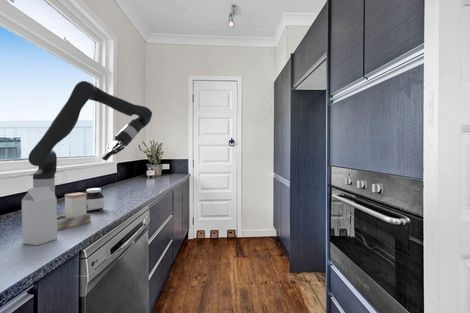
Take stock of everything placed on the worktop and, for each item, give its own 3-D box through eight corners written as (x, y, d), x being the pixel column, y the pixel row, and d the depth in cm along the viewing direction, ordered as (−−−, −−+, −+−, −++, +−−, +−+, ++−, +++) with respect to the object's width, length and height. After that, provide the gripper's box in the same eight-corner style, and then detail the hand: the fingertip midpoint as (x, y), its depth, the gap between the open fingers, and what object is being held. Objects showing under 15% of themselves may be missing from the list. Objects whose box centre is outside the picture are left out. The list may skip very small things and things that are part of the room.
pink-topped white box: (71, 221, 107) (71, 195, 107) (65, 219, 111) (64, 194, 110) (86, 218, 112) (86, 193, 112) (79, 216, 116) (79, 192, 115)
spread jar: (106, 210, 134) (106, 188, 134) (84, 215, 125) (84, 191, 125) (94, 207, 141) (94, 187, 141) (72, 212, 131) (72, 189, 131)
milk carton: (57, 239, 91) (56, 186, 90) (36, 246, 84) (35, 189, 84) (43, 236, 93) (42, 185, 93) (22, 243, 86) (21, 188, 86)
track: (42, 233, 97) (42, 219, 97) (33, 229, 102) (33, 215, 102) (90, 222, 112) (90, 209, 112) (80, 219, 117) (80, 207, 117)
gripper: (114, 130, 134) (91, 153, 124) (129, 129, 127) (105, 153, 117) (123, 140, 139) (101, 164, 129) (138, 140, 132) (116, 164, 122)
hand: (103, 159), depth 123 cm, fingers closed
